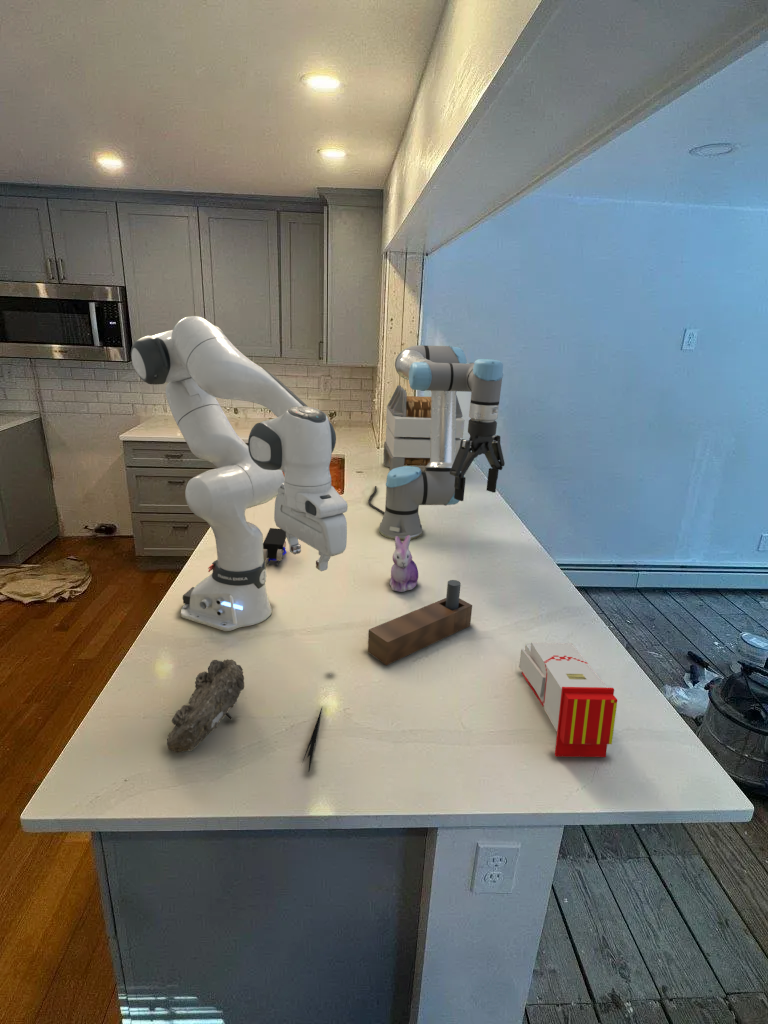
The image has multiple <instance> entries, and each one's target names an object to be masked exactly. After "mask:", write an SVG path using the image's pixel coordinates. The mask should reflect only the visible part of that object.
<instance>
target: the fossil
mask: <svg viewBox="0 0 768 1024" xmlns="http://www.w3.org/2000/svg"><path fill="white" fill-rule="evenodd" d="M243 670H244V669H243V667H242V665H240V664H237V662H236V661H235V660H234V659H232V658H231V659H227V658H226V659H224V660H223V661H222V660H217V659H212V660H211V661H210V663H209V665H208V666H207V671H201V672H199V673H198V674H197V675H196V676H195V680H194V684H195V685H194V687H195V689H194V690H193V693H192V694H191V697H190V698H189V700H188V704H184V705H182V706H181V707H180V709H177V710H176V711H175V713H174V715H173V716H172V718H171V723H172V724H173V727H172V730H171V731H170V732H168V734H167V738H166V741H167V742H166V745H167V749H168V750H169V751H173V752H174V753H176V754H178V753H182V752H188V751H189V752H192V751H193V750H195V748H196V747H197V746H199V744H200V743H201V742H203V741H204V740H205V739H206V738H207V737H208V736H209V735H210V734H211V733H212V732H214V730H215V729H217V727H218V726H219V724H220V722H221V721H222V720H223V719H224V718H225V716H226V717H227V719H229V720H233V717H232V715H230V714H229V710H230V709H231V708H234V706H235V704H236V703H237V702H238V699H239V697H240V695H241V693H242V691H243V690H245V689H244V688H245V675H244V671H243Z"/></svg>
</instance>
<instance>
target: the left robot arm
mask: <svg viewBox="0 0 768 1024" xmlns="http://www.w3.org/2000/svg"><path fill="white" fill-rule="evenodd" d="M130 348H131V349H130V356H131V361H132V367H133V368H134V371H135V372H136V374H137V375H138V377H139V378H140V380H141V381H143V382H145V383H146V384H147V385H157V386H158V385H164V384H165V383H167V384H166V386H165V396H166V400H167V403H168V407H169V409H170V412H171V414H172V417H173V419H174V421H175V424H176V425H177V427H178V429H179V431H180V433H181V434H182V437H183V438H184V440H185V442H186V445H187V447H188V448H189V450H190V452H191V453H192V454H193V456H194V457H196V458H198V459H200V460H202V461H205V462H208V463H210V464H212V465H213V466H215V467H216V468H212V469H209V470H206V471H203V472H202V473H199V474H197V475H195V476H193V477H191V478H190V479H189V480H188V482H187V484H186V486H185V491H184V497H185V498H184V499H185V502H186V505H187V506H188V508H189V510H190V511H191V512H192V513H193V514H194V515H195V516H196V517H197V518H200V519H202V520H204V521H205V522H206V523H207V524H208V526H210V529H211V531H212V532H213V536H214V538H215V539H214V540H215V548H216V557H217V559H215V560H214V561H213V562H212V563H211V564H210V565H209V566H208V567H207V569H208V571H207V572H208V573H210V572H211V571H212V572H211V573H210V574H209V575H208V576H206V577H205V578H203V579H202V580H200V581H199V582H198V583H197V584H196V585H195V586H192V587H191V588H190V589H188V590H187V591H186V592H185V593H184V594H183V595H182V603H183V604H184V605H183V606H182V608H181V610H180V618H183V619H186V620H189V621H192V622H195V623H199V624H202V625H204V626H208V627H210V628H214V629H218V630H220V631H223V632H230V631H234V630H237V629H238V628H239V629H240V628H243V627H250V626H253V625H257V624H259V623H262V622H264V621H265V620H267V619H268V618H269V617H270V616H271V614H272V612H273V608H272V605H271V603H270V599H269V596H268V592H267V585H266V582H267V566H266V565H267V563H266V561H265V559H264V554H263V542H264V534H263V532H262V530H261V529H260V527H258V526H257V525H255V524H254V523H252V522H249V521H247V518H246V510H248V509H251V508H254V507H258V506H261V505H263V504H266V503H268V502H270V501H272V500H273V499H275V500H274V513H273V514H274V515H273V516H274V517H273V519H274V523H275V526H276V527H277V528H278V529H282V530H284V531H286V540H287V543H288V545H289V552H290V553H291V554H292V555H299V554H300V553H301V552H302V545H301V544H300V543H299V542H300V541H301V542H303V543H305V544H306V545H308V546H310V547H311V548H313V549H314V550H316V551H318V556H319V558H318V559H317V560H315V568H316V569H317V570H318V571H320V572H325V571H326V570H328V568H329V566H328V565H329V560H330V559H331V558H332V557H335V556H338V555H341V554H343V553H344V552H345V550H346V549H347V542H348V541H347V540H348V539H347V538H348V537H347V536H348V523H347V518H346V515H345V514H344V513H347V512H348V503H347V501H346V499H345V498H344V497H342V496H341V494H340V493H339V492H338V491H337V489H335V486H333V485H332V475H331V472H330V464H331V462H332V455H333V453H334V451H335V447H336V444H337V434H336V431H335V428H334V426H333V424H332V422H331V421H330V420H329V417H328V416H327V414H326V412H324V411H323V410H321V409H318V408H316V407H312V406H308V405H307V404H306V403H305V402H304V401H303V400H302V399H300V397H299V396H298V395H296V394H295V393H294V392H293V391H292V390H291V389H290V388H289V387H288V386H287V385H286V384H284V383H283V382H282V381H281V380H280V379H279V378H277V376H275V375H274V374H273V373H272V372H270V371H268V370H267V369H266V368H264V367H263V366H262V367H261V366H260V365H258V364H257V363H256V362H254V361H252V360H251V359H249V358H248V357H247V356H246V355H244V353H242V352H241V351H240V350H239V349H238V348H237V347H236V346H235V345H234V344H233V343H232V342H231V341H230V340H229V338H228V337H227V335H226V334H225V333H224V331H223V329H221V328H220V327H219V326H217V325H214V324H213V323H211V322H210V321H209V320H207V319H205V318H204V317H202V316H198V315H189V316H186V317H184V318H182V319H180V320H179V321H178V322H176V324H175V325H174V327H173V329H171V330H166V331H163V332H158V333H156V334H153V335H145V336H142V337H140V338H138V339H136V340H135V341H134V342H133V344H132V345H131V347H130ZM217 399H223V400H232V401H242V402H248V403H254V404H257V405H261V406H263V407H264V408H266V409H267V410H269V411H270V412H271V413H273V415H275V417H274V418H271V419H266V420H263V421H260V422H257V423H255V424H254V425H253V427H252V428H251V430H250V432H249V434H248V439H247V443H246V442H244V440H243V439H242V438H241V437H240V436H239V435H238V433H237V432H236V430H235V429H234V427H233V426H232V424H231V421H229V419H228V417H227V415H226V413H225V412H224V410H223V408H222V406H221V404H220V403H219V400H217Z"/></svg>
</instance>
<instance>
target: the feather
mask: <svg viewBox="0 0 768 1024" xmlns="http://www.w3.org/2000/svg"><path fill="white" fill-rule="evenodd" d="M329 675H330V676H331V675H332V674H331V673H330V674H329ZM322 710H323V707H321V708H320V710H319V713H318V716H317V719H316V723H315V725H314V728H313V731H312V733H311V737H310V739H309V742H308V745H307V748H306V751H305V754H304V757H303V760H302V763H301V767H302V765H303V763H304V761H305V758H308V759H309V760H308V762H307V763H308V764H307V766H308V771H310V770H311V766H312V765H311V764H312V760H313V757H315V756H314V755H315V751H316V749H315V746H317V739H318V733H319V729H320V722H321V717H322V712H323V711H322ZM313 754H314V755H313ZM306 755H307V757H306Z"/></svg>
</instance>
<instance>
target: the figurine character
mask: <svg viewBox="0 0 768 1024" xmlns="http://www.w3.org/2000/svg"><path fill="white" fill-rule="evenodd" d="M286 540H287V537H286V531H284V530H282V529H280V528H274V527H270V528H269V529H268V532H267V534H266V536H265V538H264V539H263V554H264V559H265V562H266V565H267V566H270V563H271V561H272V562H276V563H275V565H276V566H279V564H280V562H281V561H282V560H283V559H284V556H285V555H286V554H287V550H286V549H287V548H286V547H287V541H286Z"/></svg>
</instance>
